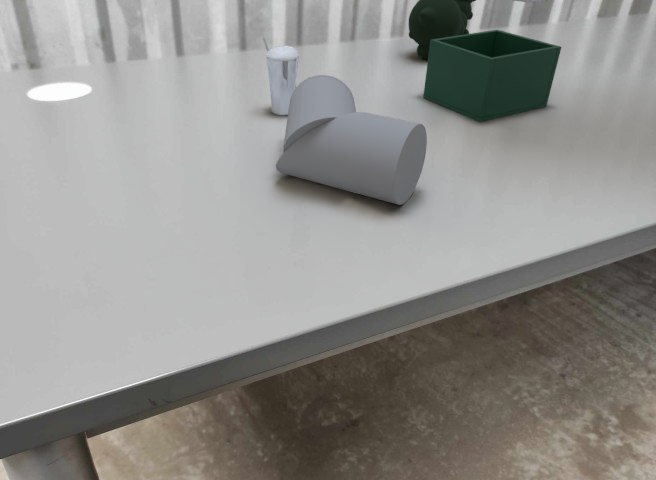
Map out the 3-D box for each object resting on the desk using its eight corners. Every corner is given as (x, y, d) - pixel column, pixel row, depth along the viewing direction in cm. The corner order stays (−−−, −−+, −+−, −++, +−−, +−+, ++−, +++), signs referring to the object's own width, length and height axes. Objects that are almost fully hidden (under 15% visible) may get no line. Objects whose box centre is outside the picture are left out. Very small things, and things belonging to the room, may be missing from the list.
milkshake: (274, 103, 86) (272, 34, 81) (304, 109, 84) (304, 39, 78) (257, 112, 83) (254, 41, 78) (288, 119, 81) (287, 46, 75)
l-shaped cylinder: (220, 169, 64) (382, 215, 55) (226, 72, 60) (402, 105, 51) (300, 150, 78) (439, 184, 70) (310, 70, 74) (459, 95, 65)
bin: (486, 84, 94) (497, 29, 89) (546, 106, 85) (561, 46, 80) (423, 97, 89) (430, 39, 84) (479, 122, 80) (491, 59, 75)
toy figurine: (436, 45, 122) (389, 60, 104) (452, -57, 113) (404, -59, 94) (479, 50, 118) (439, 68, 100) (499, -54, 109) (459, -56, 90)
